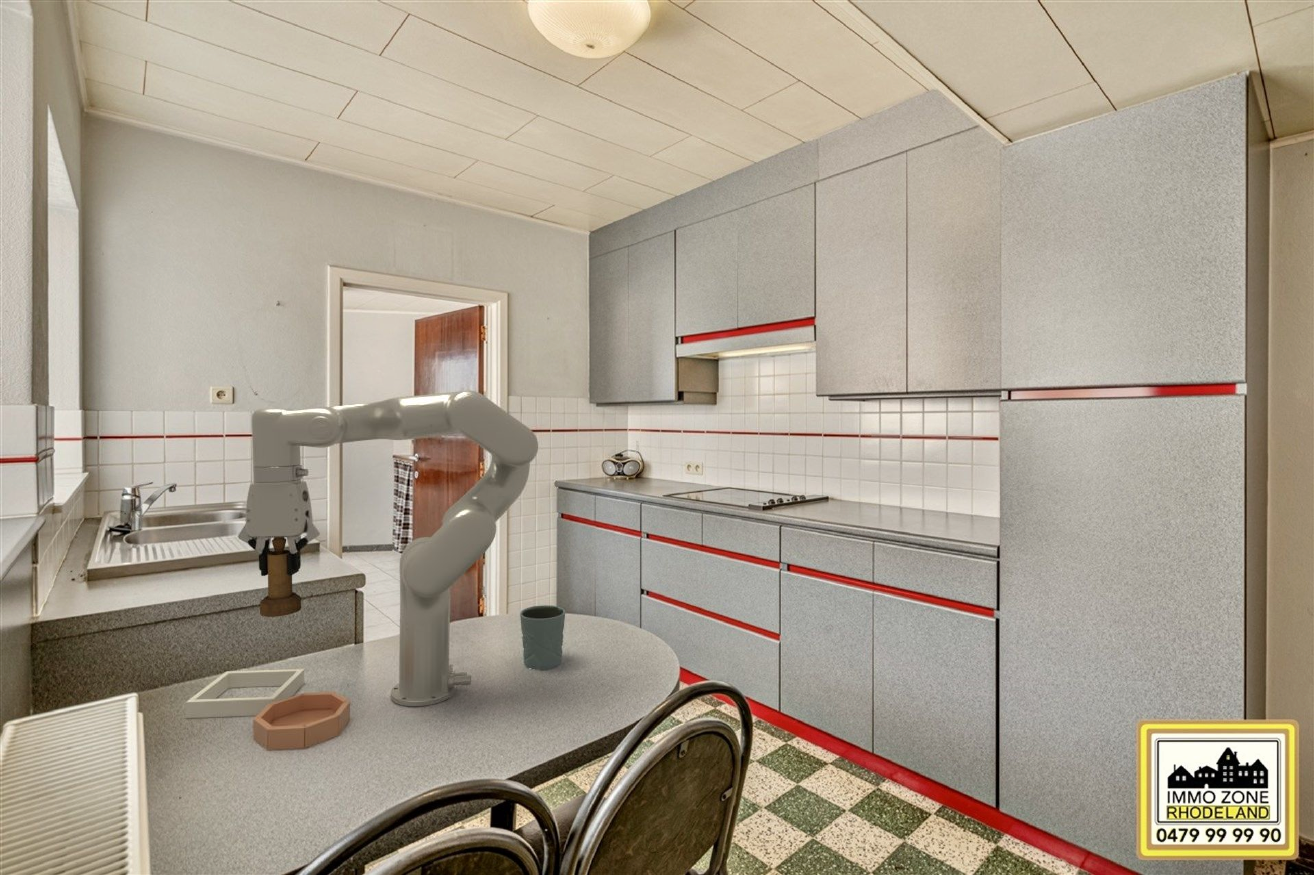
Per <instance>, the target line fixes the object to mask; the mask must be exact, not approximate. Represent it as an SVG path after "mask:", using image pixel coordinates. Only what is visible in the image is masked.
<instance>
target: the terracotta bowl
mask: <svg viewBox="0 0 1314 875" xmlns="http://www.w3.org/2000/svg"><path fill="white" fill-rule="evenodd" d="M350 720H351V700H350V699H348V698H346V697H345V696H343V695H341V694H339V693H338V692H336V691H328V692H327V691H325V692H322V691H321V692H301V693H298V694H296V695H292V696H291V697H289V698H285V699H282V700H279V701H276V702H273V703H270V704H268V705H267V706H266V707H265V708H264V709H263V710H262V711H261V712H260V713H259V714H258V715H257V716H254V718H253V731H252V732H253V736H252V737H253V740H254V741H255V742H256V743H257V744H259V745H261V746H262V747H263V748H264V749H266V750H267V751H278V750H299V749H300V750H301V749H302V750H303V749H307V748H309V747H312V746H315V745H317V744H319V743H322V742H326V741H327V740H330V739H333V738H336V737H338V736H340V734H341V733H342V732H343V731H344V729H345V728H346V726H347V725H348V723H349V722H350Z"/></svg>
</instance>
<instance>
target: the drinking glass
mask: <svg viewBox="0 0 1314 875" xmlns="http://www.w3.org/2000/svg"><path fill="white" fill-rule="evenodd" d="M519 615H520V616H519V617H520V626H521V628H520V631H521V634H522V636H521V638H522V640H521V641H522V648H523V651H522V652H523V654H522V656H523V664H524V666H525V667H526V668H528V669H529V668H531V669H530V670H533V669H534V670H535V671H547V670H546V669H548V670H552V669H551V668H553V669H555V668H557V666H558V667H559V666H560V665H561V664H562V658H563V657H562V656H563V644H564V629H565V621H566V620H565V618H566V610H565V609H564V608H562V607H560V606H557V605H547V604H545V605H534V606H529V607H526V608H524V609H522V610H521V611H520V613H519Z"/></svg>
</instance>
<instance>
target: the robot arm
mask: <svg viewBox="0 0 1314 875" xmlns="http://www.w3.org/2000/svg"><path fill="white" fill-rule="evenodd" d="M456 434H463V436H465V437H467V439H469V440H471V441H472V442H473V443H474V444H476V445H478V446H479V447H481V448H482V449H483V450H485V451H486V452H488V453H489V454H491V456H490V457H491V459H490V464H489V466H488V469H487V471H486V472H485V473H484V475H482V477H480V479H479V480H478V481H477V482H476V483H475V484H474V485H473V486H472V487H471V488H470V489H469V490H468V491H467V492H466V493H465V494H464V495H463V496H462V497H461V498H459V499H458V500H457V501H456V502H455V503H453V505H451V506H450V507H449V508H448V509H447V510H446V511H445V513H444V515H443V518H442V521H441V522H442V523H441V524H442V526H440V528H439V529H438V530H437V531H435V533H434V534H432V536H431V537H430V536H429V537H428V536H424V537H423V536H422V537H419V538H415V539H413V540H412V541H411V542H409V543H408V544H407V545H406V547H405V548H404V549H403V551H402V552H401V555H400V559H399V589H400V590H399V595H400V596H399V661H398V663H399V664H398V666H399V667H398V668H399V669H398V671H399V672H398V673H399V674H398V677H399V678H398V681H399V682H398V683H396V684H395V685H394V686H393V687H392V688H391V690H390V699H391V701H392V702H394V703H395V704H398V705H400V706H405V707H406V706H407V707H425V706H430V705H434V704H438V703H441V702H443V701H446V700H448V699H449V698H451V697H452V696H454V695H455V693H456V692H457V691H458V690H457V689H458V686H471V683H472V675H471V674H469V675H468V672H467V671H460V672H459V671H458V672H456V671H455V670H454V668H453V666H454V665H453V664H450V639H451V637H450V632H451V631H450V627H451V626H450V623H451V622H450V620H451V619H450V617H451V587H452V586H453V585H454V584H455V583H457V581H458V580H459V579H460V578H461V577H462V576H463V575H464V574H465V573H466V572H467V571H468V570H469V569H470V568H471V567H472V566H473V565H474V564H475V563H477V561H478V560H479V559H480V558H481V557H482V556H483V555H484V553H486V552H487V551H488V549H489V548H490V547H491V545H492V544H493V542H494V540H495V537H496V533H497V521H499V519H501V518H502V516H503V515H504V514H505V513H506V512H507V511H508V509H510V507H511V506H513V504H514V503H515V502H516V501H517V500H518V498H519V497H520V496H521V494H522V493H523V491H524V489H525V487H526V485H527V482H528V478H529V474H530V467H531V463H532V462H533V460H534V459H535V458H536V456H537V454H538V452H539V441H538V438H537V437H536V434H535V433H534V432H533V431H532V430H531V428H529V427H528V426H526V425H525V424H524V423H523V422H521V421H519V419H517V418H516V417H514V416H512V415H511V414H510V413H508V412H507V411H506V410H504V409H502V408H501V407H500V405H499V406H498V404H496V403H495V402H494V401H492V400H491V399H489V398H488V397H487V396H485V395H484V394H482V393H480V392H478V391H476V390H469V389H467V390H462V391H451V392H442V393H431V394H419V395H409V396H407V395H406V396H399V397H392V398H388V399H384V400H380V401H375V402H366V403H359V404H348V405H337V406H319V407H311V408H310V407H309V408H303V409H294V408H293V409H292V408H280V407H279V408H276V407H275V408H258V409H255V410H254V411H253V413H252V414H251V437H252V438H251V439H252V440H251V441H252V443H251V444H252V470H253V471H252V473H253V475H252V476H253V478H252V479H253V483H250V484H249V487H248V488H249V489H248V490H247V491H248V492H247V497H246V505H245V507H246V508H245V525H243V527H242V529H241V531H240V532H239V533H238V535H237V538H238V539H239V540H241V541H242V542H244V543H245V544H248V545H249V547H250V548H252V549H253V550H254V552H255V554H256V555H258V569H259V571H260V577H265V576H268V560H267V553H269V552H272V551H273V550H271V549H270V548H271V544H272V538H273V539H274V538H275V537H284V538H286V542H287V544H288V550H289V552H290V553H289V554H287V574H288V575H292V576H293V575H295V574H297V573H298V572H299V571H300V569H301V566H302V564H301V563H302V561H301V551H302V550H304V548H305V547H306V546H307V545H308V544H309V543H310V542H312V541H313V540H314V539H316V538H318V537H319V536H320V531H319V530H318V529H317V528H316V525H314V522H313V520H314V519H313V511H312V510H313V509H312V503H311V502H312V501H311V497H310V492H309V488H308V485H307V481H303V480H302V479H303V478H304V477H308V476H309V469H308V468H303V466H302V463H301V447H308V448H319V449H320V448H322V449H324V448H329V447H332V446H334V445H338V444H345V443H354V442H362V441H374V440H389V441H408V440H414V439H415V440H416V439H423V438H430V437H431V438H432V437H439V436H440V437H441V436H449V435H450V436H451V435H456ZM305 533H307V534H306V535H305V536H304V537H302V536H301V535H303V534H305Z"/></svg>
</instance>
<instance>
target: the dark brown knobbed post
mask: <svg viewBox="0 0 1314 875" xmlns="http://www.w3.org/2000/svg"><path fill="white" fill-rule="evenodd" d="M286 543H287V538H286V537H275V538H273V539H271V544H272V546H273V547H272V548H273V549H274V550H271V551H272V552H269V553H267V560H268V575H267V595H266V596H265V597H264V598H263V599H261V600H260V602H259V615H260V616H261V617H267V618H275V617H276V618H278V617H282V616H288V615H292V614H295V613H298V612H299V611H301V610H302V597H301V596H300V595H299V594H297V593H296V592H294V591H293V575H288V574H287V554H289V553H290V552H289V549H285V547H286Z"/></svg>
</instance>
